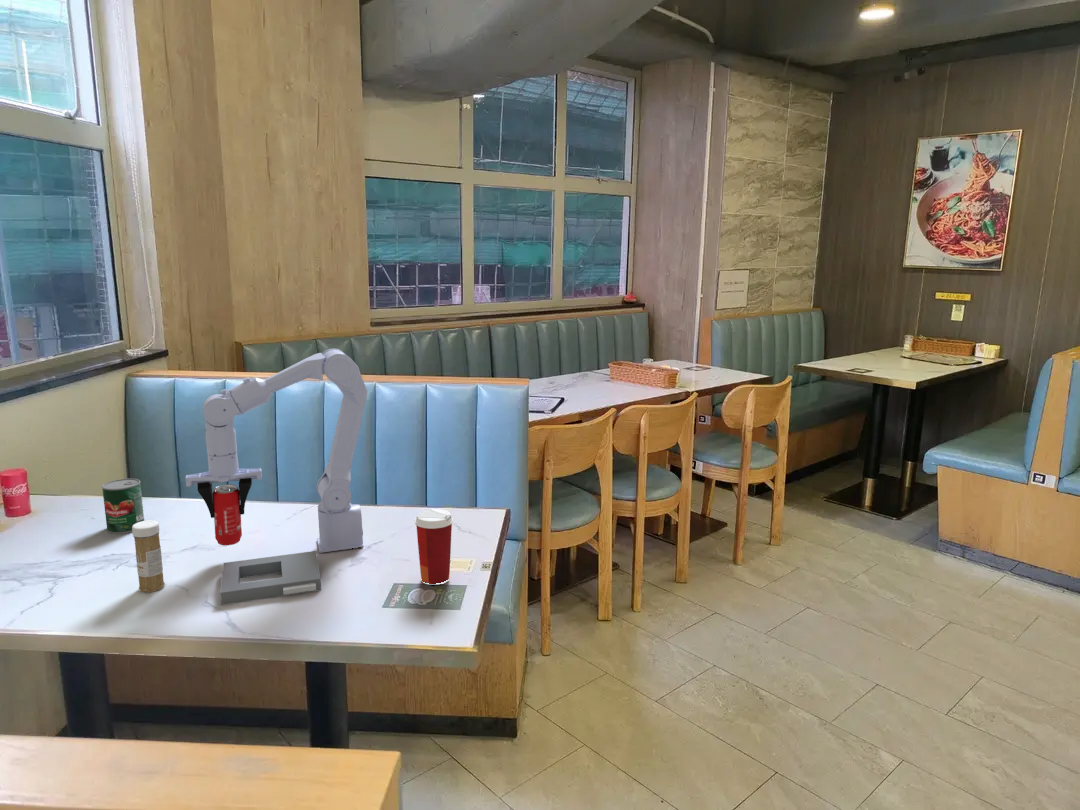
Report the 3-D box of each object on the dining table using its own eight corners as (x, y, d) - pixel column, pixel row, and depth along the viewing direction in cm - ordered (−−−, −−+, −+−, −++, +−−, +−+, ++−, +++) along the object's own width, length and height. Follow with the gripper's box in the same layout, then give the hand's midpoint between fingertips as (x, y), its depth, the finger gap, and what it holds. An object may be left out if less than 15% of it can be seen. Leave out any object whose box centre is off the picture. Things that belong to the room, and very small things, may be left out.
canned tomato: (106, 536, 167) (101, 491, 165) (107, 525, 174) (101, 481, 171) (145, 530, 171) (140, 485, 168) (144, 519, 177) (139, 476, 175)
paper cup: (460, 575, 149) (459, 510, 146) (443, 591, 142) (442, 524, 139) (426, 569, 151) (425, 506, 149) (408, 584, 144) (406, 518, 141)
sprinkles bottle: (135, 588, 142) (127, 524, 139) (159, 580, 145) (152, 517, 142) (145, 595, 139) (137, 530, 136) (169, 587, 142) (162, 523, 139)
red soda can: (231, 548, 151) (228, 494, 148) (210, 543, 152) (206, 490, 149) (247, 538, 156) (244, 486, 153) (226, 534, 157) (223, 482, 154)
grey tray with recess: (316, 561, 154) (315, 550, 154) (321, 592, 141) (321, 581, 140) (224, 574, 148) (223, 562, 148) (221, 608, 134) (220, 595, 134)
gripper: (181, 461, 144) (188, 525, 146) (259, 454, 149) (264, 516, 151) (185, 451, 150) (191, 513, 153) (259, 445, 155) (264, 505, 158)
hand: (227, 514), depth 153 cm, fingers closed on red soda can, 5 cm apart
